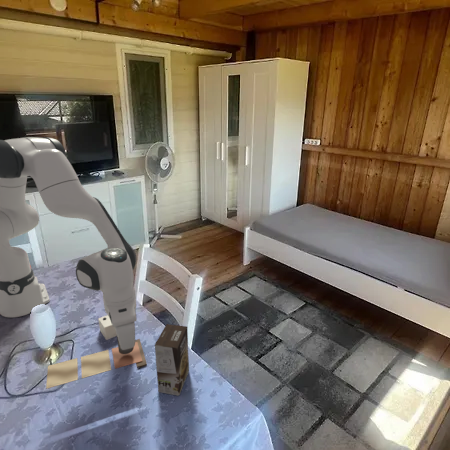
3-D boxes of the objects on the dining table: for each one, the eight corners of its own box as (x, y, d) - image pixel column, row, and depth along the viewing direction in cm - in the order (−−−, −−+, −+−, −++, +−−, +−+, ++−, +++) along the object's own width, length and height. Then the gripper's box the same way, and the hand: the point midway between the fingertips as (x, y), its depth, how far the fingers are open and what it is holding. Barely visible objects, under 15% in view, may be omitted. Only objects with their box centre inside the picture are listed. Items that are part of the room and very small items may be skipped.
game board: (45, 365, 98) (44, 363, 98) (139, 340, 109) (139, 338, 108) (42, 396, 88) (41, 394, 87) (147, 365, 98) (146, 363, 98)
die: (100, 333, 112) (98, 317, 110) (117, 326, 116) (115, 310, 113) (106, 342, 108) (104, 326, 105) (124, 335, 111) (122, 319, 109)
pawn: (117, 346, 102) (114, 325, 99) (132, 342, 103) (129, 321, 100) (119, 355, 98) (116, 334, 95) (134, 351, 99) (132, 330, 97)
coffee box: (180, 396, 88) (177, 348, 82) (157, 392, 89) (153, 345, 84) (190, 370, 96) (188, 325, 91) (169, 367, 98) (166, 322, 92)
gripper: (105, 287, 102) (110, 323, 107) (112, 325, 85) (118, 367, 90) (126, 283, 105) (130, 319, 109) (137, 319, 87) (141, 360, 92)
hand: (125, 341), depth 99 cm, fingers closed on pawn, 4 cm apart
